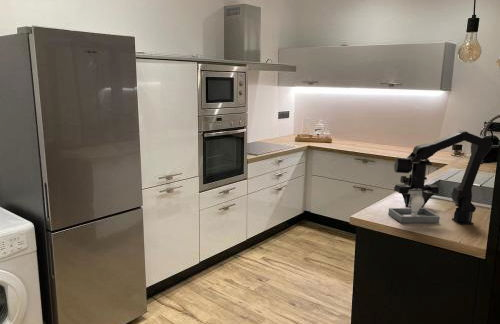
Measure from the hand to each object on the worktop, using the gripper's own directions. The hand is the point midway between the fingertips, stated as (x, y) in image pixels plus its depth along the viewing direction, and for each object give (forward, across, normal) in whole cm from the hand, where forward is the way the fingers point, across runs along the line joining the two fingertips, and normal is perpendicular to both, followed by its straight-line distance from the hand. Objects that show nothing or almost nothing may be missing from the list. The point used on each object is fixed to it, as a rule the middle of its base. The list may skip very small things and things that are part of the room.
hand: (414, 207), depth 177 cm
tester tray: (+6, 0, 0) cm, 6 cm away
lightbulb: (+5, 0, 0) cm, 5 cm away
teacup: (+6, -13, -19) cm, 24 cm away
